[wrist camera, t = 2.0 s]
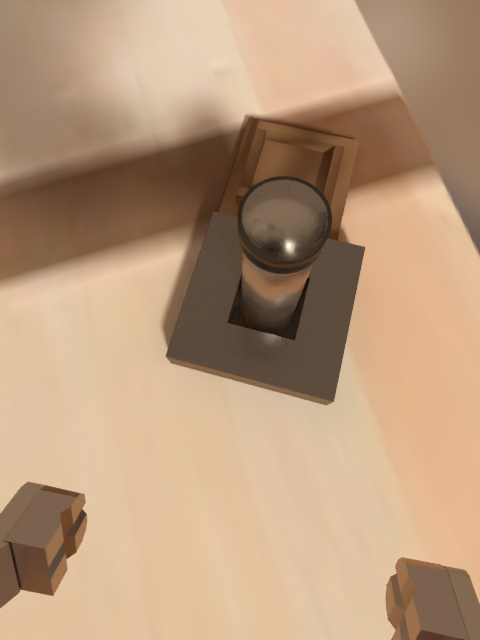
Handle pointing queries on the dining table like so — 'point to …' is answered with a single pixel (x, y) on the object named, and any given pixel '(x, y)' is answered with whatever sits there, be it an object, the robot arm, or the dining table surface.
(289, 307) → the lidded glass canister
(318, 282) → the socket block
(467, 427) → the dining table surface
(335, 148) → the square wooden tray
